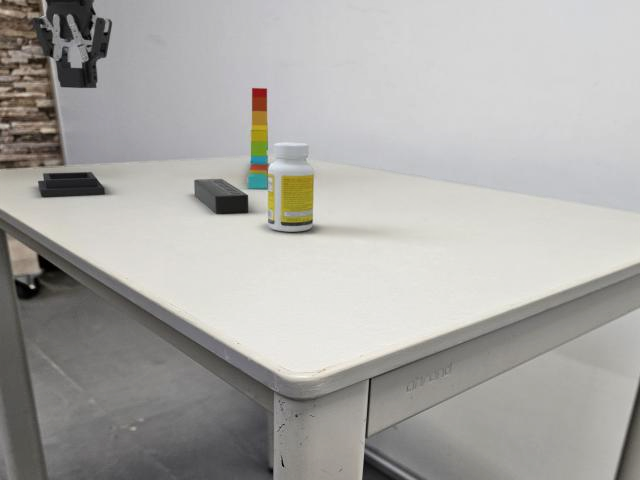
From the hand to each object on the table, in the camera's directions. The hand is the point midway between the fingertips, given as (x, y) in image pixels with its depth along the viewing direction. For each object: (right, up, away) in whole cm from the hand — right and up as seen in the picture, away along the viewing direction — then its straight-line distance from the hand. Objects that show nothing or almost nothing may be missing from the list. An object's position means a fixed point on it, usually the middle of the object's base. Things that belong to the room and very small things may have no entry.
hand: (78, 85), depth 104 cm
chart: (+28, -12, +12) cm, 33 cm away
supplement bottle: (+36, -28, -27) cm, 53 cm away
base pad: (+2, -19, -9) cm, 21 cm away
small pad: (0, 0, 0) cm, 0 cm away
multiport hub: (+26, -22, -14) cm, 37 cm away
